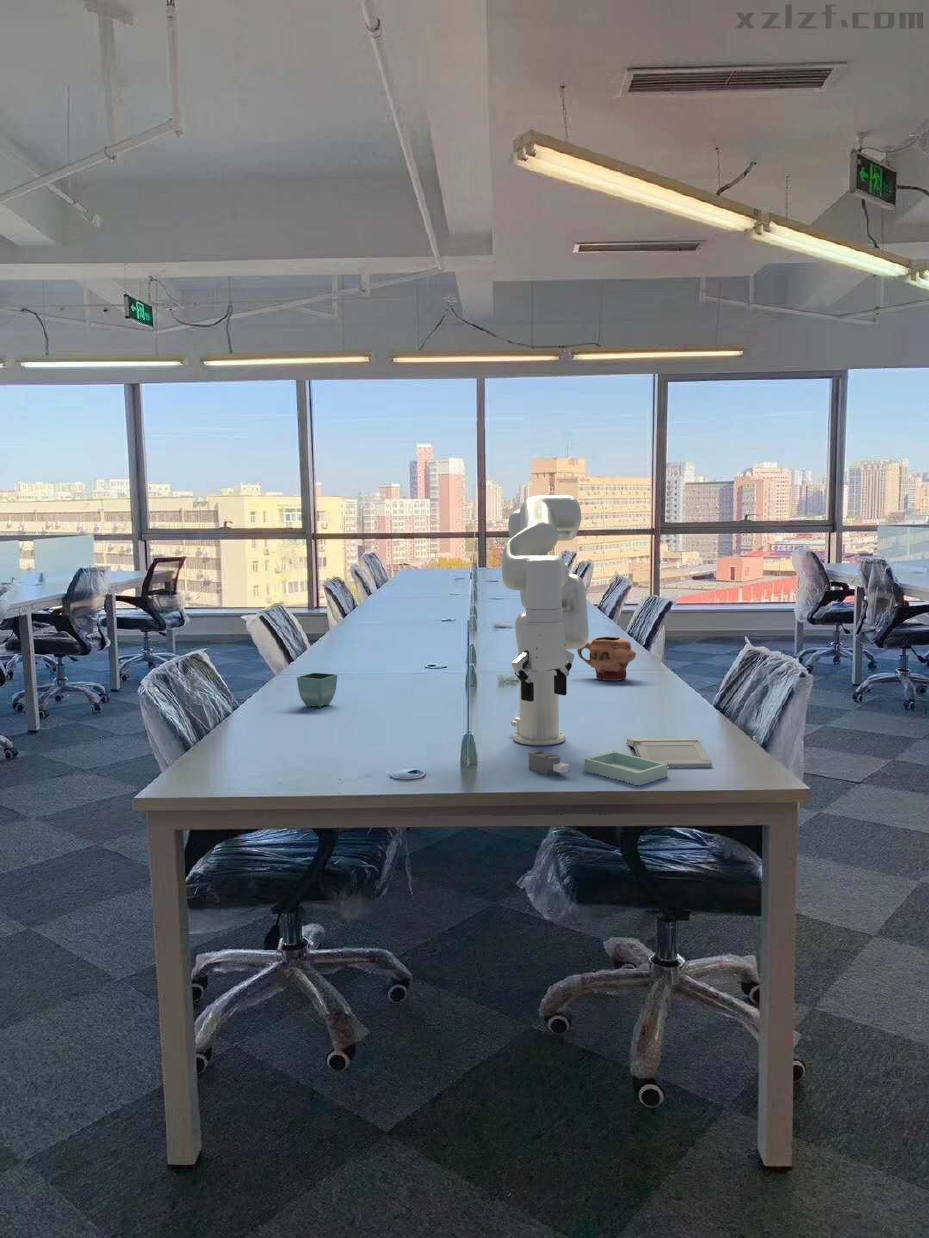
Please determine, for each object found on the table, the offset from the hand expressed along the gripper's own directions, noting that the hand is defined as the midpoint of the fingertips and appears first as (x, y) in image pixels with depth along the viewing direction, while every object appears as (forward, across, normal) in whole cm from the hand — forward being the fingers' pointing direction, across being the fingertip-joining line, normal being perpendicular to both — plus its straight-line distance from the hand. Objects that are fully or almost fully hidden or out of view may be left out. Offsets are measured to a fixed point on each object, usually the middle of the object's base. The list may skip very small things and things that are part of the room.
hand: (544, 697), depth 187 cm
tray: (+16, -11, +13) cm, 23 cm away
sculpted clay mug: (+15, -92, -64) cm, 113 cm away
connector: (+16, 0, +1) cm, 16 cm away
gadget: (+17, -30, +9) cm, 36 cm away
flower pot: (+16, +1, -93) cm, 95 cm away
